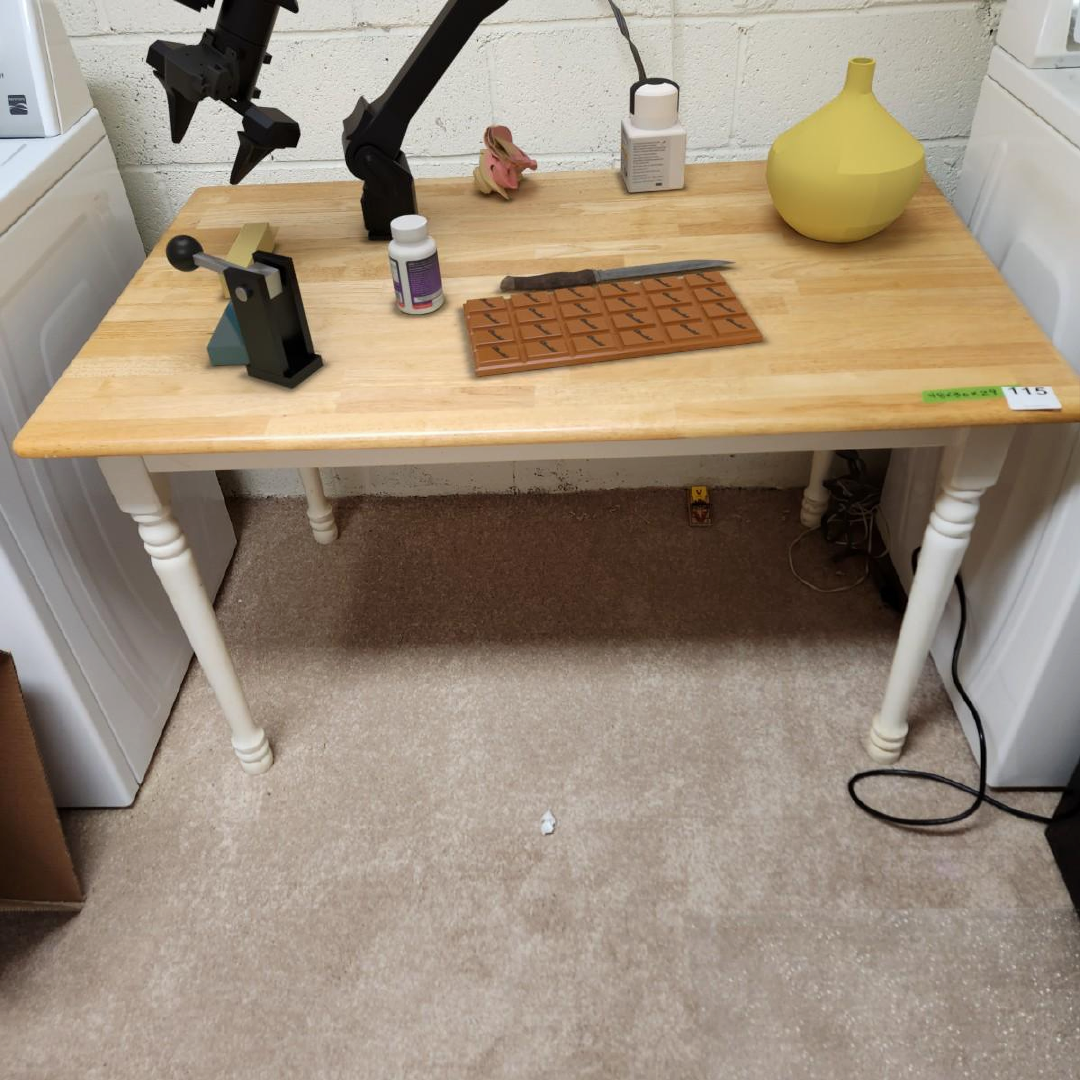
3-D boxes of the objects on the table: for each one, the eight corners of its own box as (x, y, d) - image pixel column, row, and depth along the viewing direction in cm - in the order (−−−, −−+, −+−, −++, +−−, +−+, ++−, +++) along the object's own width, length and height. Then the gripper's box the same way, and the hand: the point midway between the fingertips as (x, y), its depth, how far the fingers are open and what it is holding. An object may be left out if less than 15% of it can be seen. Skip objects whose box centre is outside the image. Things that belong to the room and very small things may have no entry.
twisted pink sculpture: (475, 211, 126) (446, 147, 126) (507, 220, 135) (481, 160, 135) (529, 175, 122) (499, 108, 122) (559, 186, 131) (532, 124, 130)
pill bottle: (451, 296, 107) (441, 214, 100) (432, 318, 103) (421, 234, 97) (409, 290, 108) (396, 209, 102) (389, 312, 104) (374, 229, 98)
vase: (847, 273, 106) (881, 97, 93) (729, 226, 117) (744, 63, 104) (940, 226, 114) (983, 58, 102) (821, 186, 125) (846, 30, 112)
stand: (244, 377, 95) (212, 271, 88) (283, 350, 99) (255, 246, 91) (289, 391, 93) (260, 283, 85) (326, 362, 97) (302, 256, 89)
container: (620, 173, 132) (621, 75, 124) (673, 168, 133) (678, 71, 124) (628, 193, 127) (630, 93, 118) (684, 189, 127) (690, 88, 118)
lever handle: (162, 272, 93) (153, 238, 91) (188, 257, 96) (180, 224, 93) (264, 310, 89) (257, 276, 87) (288, 294, 91) (283, 260, 89)
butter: (250, 247, 119) (244, 223, 117) (275, 245, 119) (269, 221, 117) (225, 298, 109) (217, 273, 107) (251, 297, 109) (244, 271, 107)
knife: (729, 258, 111) (730, 247, 110) (738, 271, 108) (739, 260, 107) (498, 284, 108) (497, 274, 107) (502, 298, 106) (501, 287, 105)
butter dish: (286, 298, 108) (281, 281, 107) (260, 363, 97) (255, 345, 96) (242, 300, 108) (237, 283, 107) (211, 366, 98) (205, 347, 96)
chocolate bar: (463, 309, 104) (462, 297, 103) (720, 279, 107) (721, 267, 106) (476, 376, 93) (475, 364, 93) (761, 341, 96) (763, 329, 95)
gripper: (125, -23, 97) (93, 119, 105) (259, 70, 95) (216, 208, 103) (199, -6, 107) (165, 123, 115) (323, 79, 104) (279, 205, 112)
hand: (204, 163), depth 111 cm, fingers open, 9 cm apart
